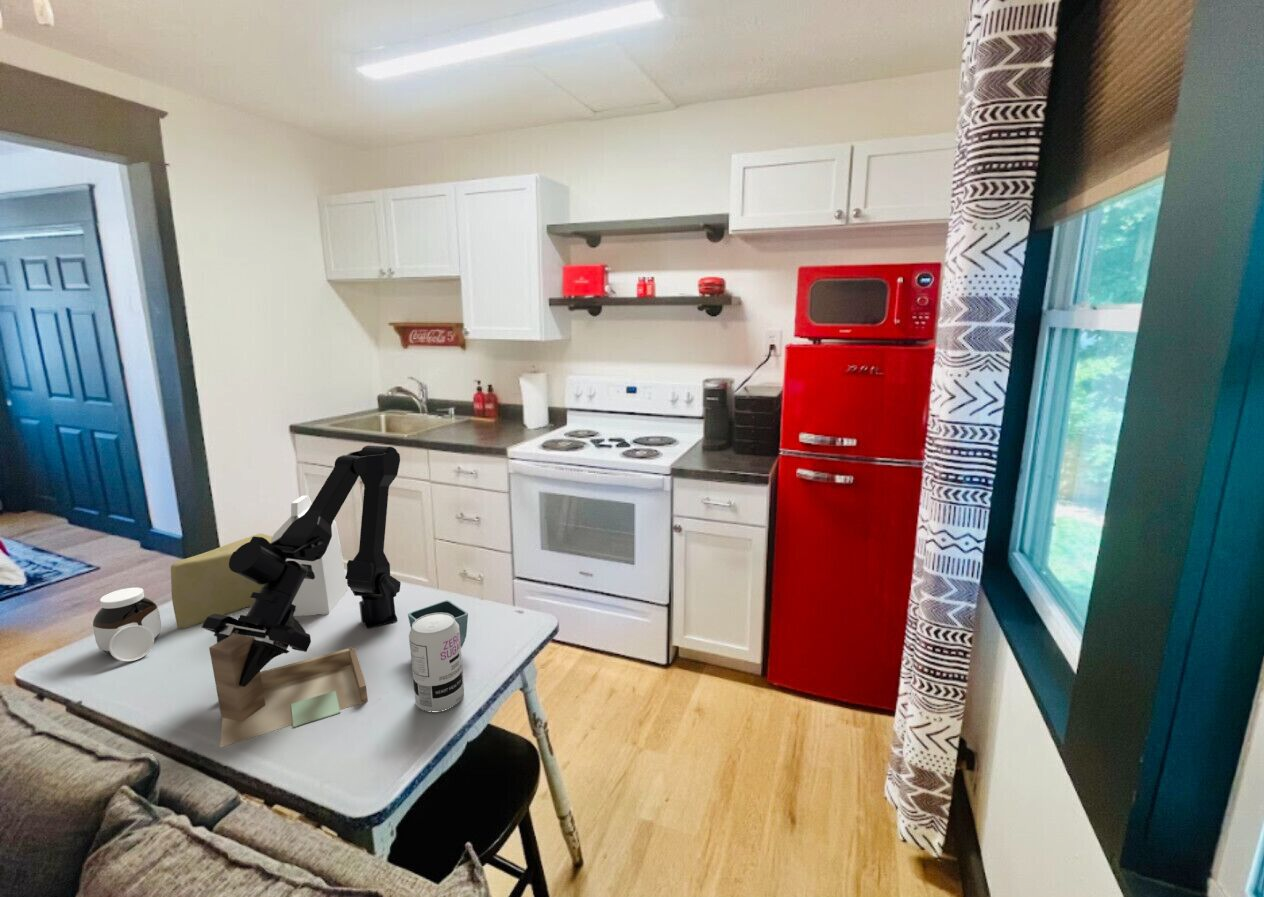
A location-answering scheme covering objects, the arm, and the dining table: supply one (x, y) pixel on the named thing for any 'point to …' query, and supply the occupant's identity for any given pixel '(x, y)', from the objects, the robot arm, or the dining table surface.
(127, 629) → the spread jar
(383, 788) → the dining table surface
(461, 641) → the flower pot
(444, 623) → the supplement can
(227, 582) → the cheese
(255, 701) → the walnut block
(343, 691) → the tray
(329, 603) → the milk
